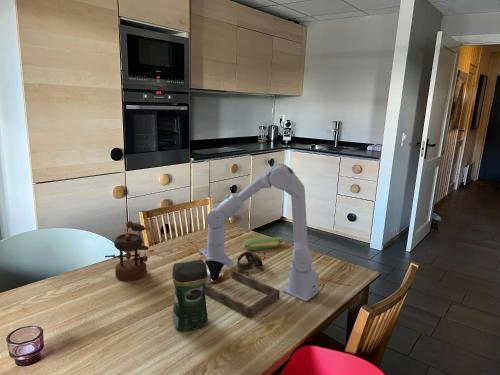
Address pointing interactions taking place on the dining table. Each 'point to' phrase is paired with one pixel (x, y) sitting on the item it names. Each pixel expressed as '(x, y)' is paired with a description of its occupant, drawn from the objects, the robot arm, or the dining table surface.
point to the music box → (130, 242)
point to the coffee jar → (189, 295)
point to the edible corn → (262, 243)
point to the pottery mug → (249, 261)
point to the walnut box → (239, 306)
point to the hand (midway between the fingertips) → (214, 279)
